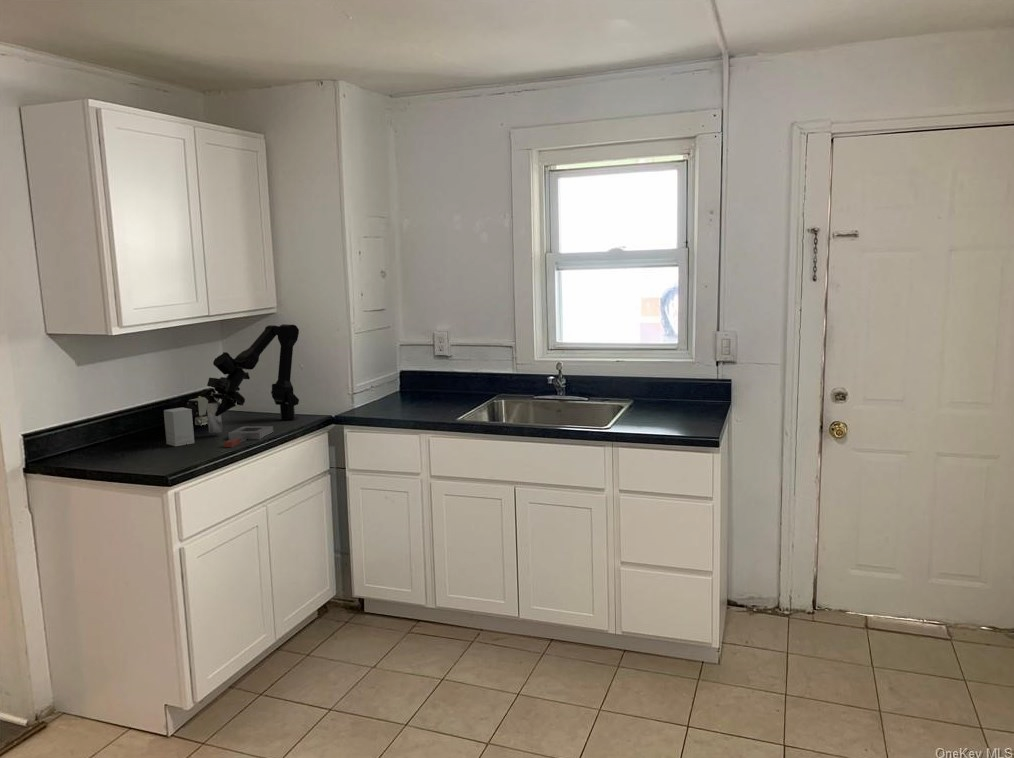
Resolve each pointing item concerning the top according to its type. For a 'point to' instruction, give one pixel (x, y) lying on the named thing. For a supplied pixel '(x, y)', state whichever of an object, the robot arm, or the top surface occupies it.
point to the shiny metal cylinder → (214, 418)
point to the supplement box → (179, 426)
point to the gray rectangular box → (247, 434)
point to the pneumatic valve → (198, 409)
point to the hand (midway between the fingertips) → (211, 415)
